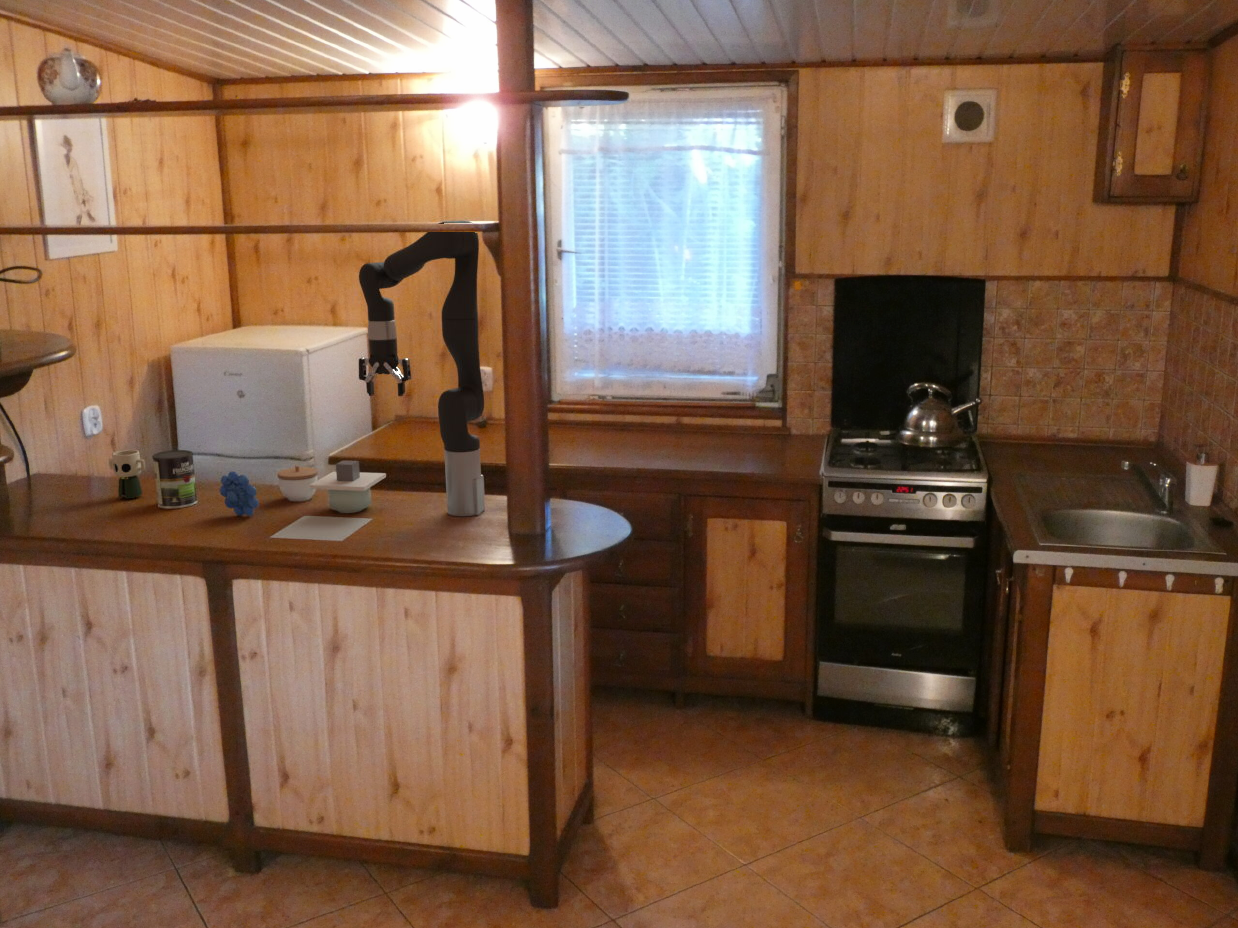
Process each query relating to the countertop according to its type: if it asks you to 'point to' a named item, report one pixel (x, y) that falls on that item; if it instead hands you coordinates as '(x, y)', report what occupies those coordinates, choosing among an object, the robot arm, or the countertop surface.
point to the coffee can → (175, 479)
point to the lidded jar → (297, 482)
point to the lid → (348, 478)
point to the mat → (322, 528)
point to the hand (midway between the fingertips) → (386, 395)
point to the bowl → (349, 500)
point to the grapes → (238, 493)
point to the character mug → (127, 472)
